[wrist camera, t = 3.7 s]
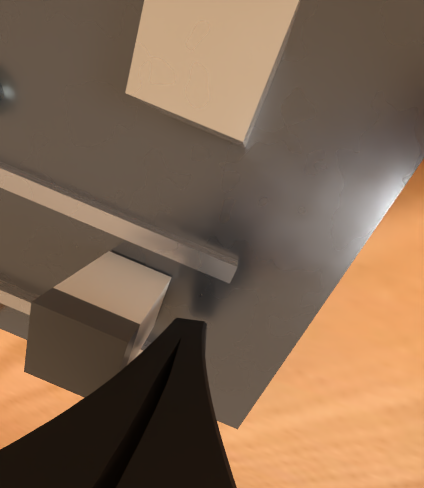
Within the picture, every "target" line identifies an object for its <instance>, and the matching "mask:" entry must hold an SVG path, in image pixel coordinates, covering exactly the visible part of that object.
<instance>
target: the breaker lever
mask: <svg viewBox="0 0 424 488" xmlns="http://www.w3.org/2000/svg"><path fill="white" fill-rule="evenodd" d="M170 280H171V277H170V276H167V275H165V274H162V273H160V272H158V271H155V270H153V269H151V268H148V267H146V266H143V265H141V264H139V263H136V262H134V261H131V260H129V259H127V258H124V257H122V256H120V255H117V254H115V253H112V252H110V251H108V252H107V253H105V254H104V255H102V256H101V257H99V258H98V259H96V260H95V261H93V262H91V263H90V264H88V265H87V266H85V267H84V268H82V269H81V270H79V271H78V272H76V273H75V274H73V275H72V276H70V277H68V278H67V279H65V280H64V281H62V282H61V283H59V284H58V285H56V286H55V287H53V288H52V289H50V290H48V291H47V292H45V293H44V294H42V295H41V296H39V297H38V298H36V299H35V300H33V301H32V302H31V309H30V319H29V329H28V339H27V349H26V358H25V368H24V372H26V373H28V374H31V375H33V376H35V377H38V378H40V379H42V380H45V381H47V382H50V383H52V384H54V385H57V386H59V387H61V388H64V389H66V390H68V391H71V392H73V393H75V394H78V395H80V396H82V397H87V396H88V395H90V394H91V393H92V392H94V391H95V390H96V389H98V388H99V387H100V386H102V385H103V384H104V383H106V382H107V381H108V380H110V379H111V378H112V377H113V376H115V375H116V374H117V373H118V372H120V371H121V370H122V369H123V368H124V367H125V366H127V365H128V364H129V363H130V362H131V361H132V360H134V359H135V358H136V357H137V355H138V353H139V351H140V350H141V348H142V346H143V344H144V343H145V341H146V339H147V337H148V336H149V334H150V332H151V330H152V329H153V327H154V324H155V321H156V318H157V316H158V313H159V310H160V307H161V305H162V302H163V299H164V296H165V294H166V291H167V288H168V285H169V283H170Z"/></svg>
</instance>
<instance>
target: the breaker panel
mask: <svg viewBox="0 0 424 488" xmlns="http://www.w3.org/2000/svg"><path fill="white" fill-rule="evenodd" d="M423 159H424V0H0V329H2V330H5V331H7V332H10V333H12V334H14V335H17V336H19V337H21V338H24V339H26V340H27V339H28V329H29V319H30V309H31V302H32V301H33V300H35V299H36V298H38V297H39V296H41V295H42V294H44V293H45V292H47V291H48V290H50V289H52V288H53V287H55V286H56V285H58V284H59V283H61V282H62V281H64V280H65V279H67V278H68V277H70V276H72V275H73V274H75V273H76V272H78V271H79V270H81V269H82V268H84V267H85V266H87V265H88V264H90V263H91V262H93V261H95V260H96V259H98V258H99V257H101V256H102V255H104V254H105V253H107V252H108V251H110V252H112V253H115V254H117V255H120V256H122V257H124V258H127V259H129V260H131V261H134V262H136V263H139V264H141V265H143V266H146V267H148V268H151V269H153V270H155V271H158V272H160V273H162V274H165V275H167V276H170V277H171V280H170V283H169V285H168V288H167V291H166V294H165V296H164V299H163V302H162V305H161V307H160V310H159V313H158V316H157V318H156V321H155V324H154V327H153V329H152V330H151V332H150V334H149V336H148V337H147V339H146V341H145V343H144V344H143V346H142V348H141V350H140V351H139V353H138V355H139V354H140V353H141V352H143V351H144V350H145V349H146V348H147V347H148V346H149V345H150V344H151V343H152V342H153V341H154V340H155V339H156V338H157V337H158V336H159V335H160V334H161V333H162V332H163V331H164V330H165V329H166V328H167V327H168V326H169V325H170V324H171V323H172V321H173V320H174V319H176V318H184V319H191V320H198V321H205V323H206V324H207V333H206V351H205V359H206V368H207V376H208V382H209V388H210V393H211V398H212V403H213V407H214V412H215V416H216V420H217V421H219V422H222V423H224V424H226V425H229V426H231V427H234V428H236V429H238V428H239V426H240V425H241V423H242V422H243V420H244V419H245V417H246V416H247V415H248V413H249V412H250V410H251V409H252V407H253V406H254V404H255V403H256V401H257V400H258V399H259V397H260V396H261V394H262V393H263V391H264V390H265V388H266V387H267V385H268V384H269V383H270V381H271V380H272V378H273V377H274V375H275V374H276V372H277V371H278V369H279V368H280V367H281V365H282V364H283V362H284V361H285V359H286V358H287V356H288V355H289V353H290V352H291V351H292V349H293V348H294V346H295V345H296V343H297V342H298V340H299V339H300V337H301V336H302V335H303V333H304V332H305V330H306V329H307V327H308V326H309V324H310V323H311V321H312V320H313V319H314V317H315V316H316V314H317V313H318V311H319V310H320V308H321V307H322V305H323V304H324V303H325V301H326V300H327V298H328V297H329V295H330V294H331V292H332V291H333V290H334V288H335V287H336V285H337V284H338V282H339V281H340V279H341V278H342V276H343V275H344V274H345V272H346V271H347V269H348V268H349V266H350V265H351V263H352V262H353V260H354V259H355V258H356V256H357V255H358V253H359V252H360V250H361V249H362V247H363V246H364V244H365V243H366V242H367V240H368V239H369V237H370V236H371V234H372V233H373V231H374V230H375V228H376V227H377V226H378V224H379V223H380V221H381V220H382V218H383V217H384V215H385V214H386V212H387V211H388V210H389V208H390V207H391V205H392V204H393V202H394V201H395V199H396V198H397V196H398V195H399V194H400V192H401V191H402V189H403V188H404V186H405V185H406V183H407V182H408V180H409V179H410V178H411V176H412V175H413V173H414V172H415V170H416V169H417V167H418V166H419V164H420V163H421V162H422V160H423ZM138 355H137V356H138Z"/></svg>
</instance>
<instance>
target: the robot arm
mask: <svg viewBox="0 0 424 488" xmlns="http://www.w3.org/2000/svg"><path fill="white" fill-rule="evenodd" d="M206 333H207V324H206V323H205V321H198V320H191V319H184V318H176V319H174V320H173V321H172V323H171V324H170V325H169V326H168V327H167V328H166V329H165V330H164V331H163V332H162V333H161V334H160V335H159V336H158V337H157V338H156V339H155V340H154V341H153V342H152V343H151V344H150V345H149V346H148V347H147V348H146V349H145V350H144V351H143V352H141V353H140V354H139V355H138V356H137V357H136V358H135V359H134V360H132V361H131V362H130V363H129V364H128V365H127V366H125V367H124V368H123V369H122V370H121V371H120V372H118V373H117V374H116V375H115V376H113V377H112V378H111V379H110V380H108V381H107V382H106V383H104V384H103V385H102V386H100V387H99V388H98V389H96V390H95V391H94V392H92V393H91V394H90V395H88V396H87V397H85V398H84V399H82V400H81V401H79V402H78V403H76V404H75V405H74V406H72V407H71V408H69V409H68V410H66V411H65V412H63V413H62V414H60V415H58V416H57V417H55V418H54V419H52V420H50V421H49V422H47V423H45V424H44V425H42V426H40V427H39V428H37V429H35V430H34V431H32V432H30V433H29V434H27V435H25V436H24V437H22V438H20V439H18V440H17V441H15V442H13V443H11V444H10V445H8V446H6V447H4V448H2V449H1V450H0V488H237V487H236V484H235V481H234V478H233V475H232V472H231V469H230V465H229V462H228V459H227V455H226V452H225V449H224V446H223V442H222V439H221V435H220V431H219V428H218V424H217V420H216V416H215V412H214V407H213V403H212V398H211V393H210V388H209V382H208V376H207V368H206V359H205V351H206Z"/></svg>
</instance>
